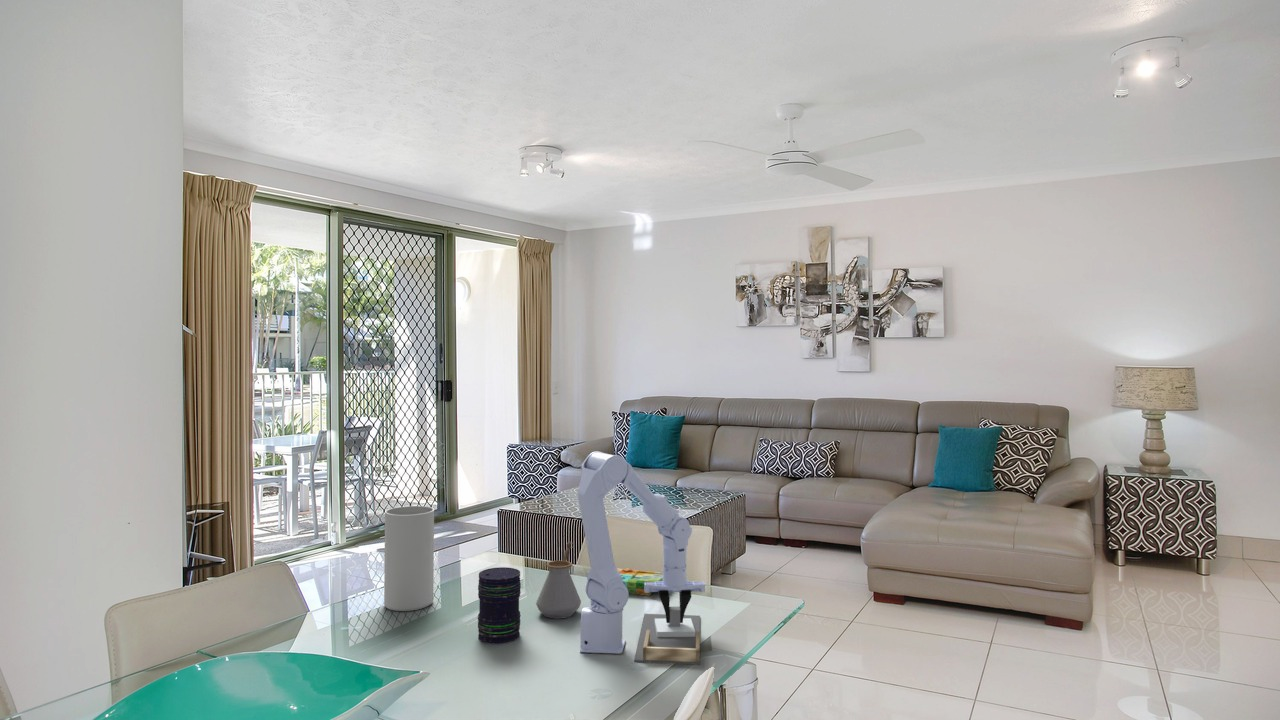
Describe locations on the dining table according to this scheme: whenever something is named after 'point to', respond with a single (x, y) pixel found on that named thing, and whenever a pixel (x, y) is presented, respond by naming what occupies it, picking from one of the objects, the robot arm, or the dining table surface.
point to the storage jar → (499, 605)
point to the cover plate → (674, 630)
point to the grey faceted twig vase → (559, 590)
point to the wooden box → (671, 651)
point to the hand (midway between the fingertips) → (674, 621)
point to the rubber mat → (665, 638)
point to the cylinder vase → (409, 558)
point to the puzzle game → (638, 579)
